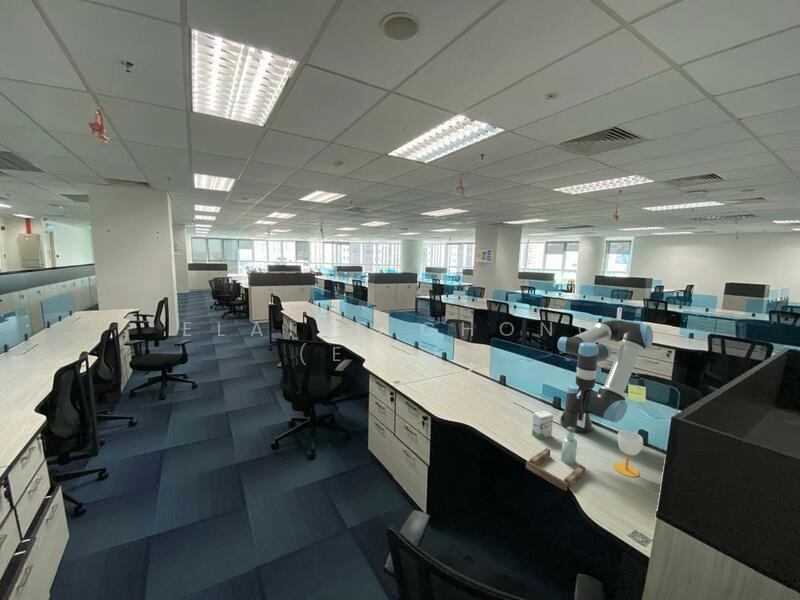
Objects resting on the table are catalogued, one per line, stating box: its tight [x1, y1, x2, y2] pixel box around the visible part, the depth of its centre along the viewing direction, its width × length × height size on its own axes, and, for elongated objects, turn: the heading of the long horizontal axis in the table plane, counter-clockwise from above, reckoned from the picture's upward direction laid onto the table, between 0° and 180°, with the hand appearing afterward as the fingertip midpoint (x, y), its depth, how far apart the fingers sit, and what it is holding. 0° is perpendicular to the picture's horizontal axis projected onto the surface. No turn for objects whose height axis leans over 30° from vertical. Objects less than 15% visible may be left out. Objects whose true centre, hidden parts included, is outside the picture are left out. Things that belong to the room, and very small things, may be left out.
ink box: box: [531, 410, 554, 440], centre depth 163 cm, size 8×5×12 cm, turn 111°
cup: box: [613, 429, 644, 478], centre depth 137 cm, size 9×9×16 cm
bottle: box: [560, 426, 578, 466], centre depth 143 cm, size 6×6×16 cm
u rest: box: [525, 447, 586, 492], centre depth 137 cm, size 17×17×3 cm
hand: (580, 426), depth 148 cm, fingers closed
